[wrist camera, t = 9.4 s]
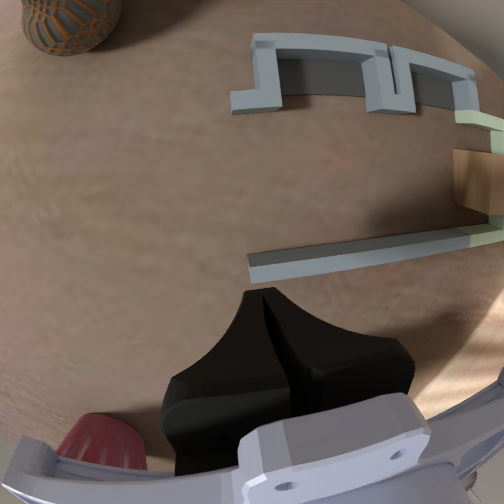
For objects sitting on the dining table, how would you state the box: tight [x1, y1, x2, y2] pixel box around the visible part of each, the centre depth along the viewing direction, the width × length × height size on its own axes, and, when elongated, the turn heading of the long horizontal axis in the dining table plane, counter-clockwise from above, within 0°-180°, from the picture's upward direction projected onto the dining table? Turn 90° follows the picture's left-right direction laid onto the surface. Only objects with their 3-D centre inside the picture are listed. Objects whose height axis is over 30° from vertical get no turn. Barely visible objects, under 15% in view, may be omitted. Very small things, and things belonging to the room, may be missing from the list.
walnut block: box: [452, 149, 504, 215], centre depth 18 cm, size 5×5×5 cm
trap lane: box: [230, 33, 504, 284], centre depth 18 cm, size 16×27×2 cm, turn 96°
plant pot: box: [55, 413, 147, 471], centre depth 22 cm, size 14×14×13 cm
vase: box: [21, 0, 122, 56], centre depth 10 cm, size 7×7×9 cm
